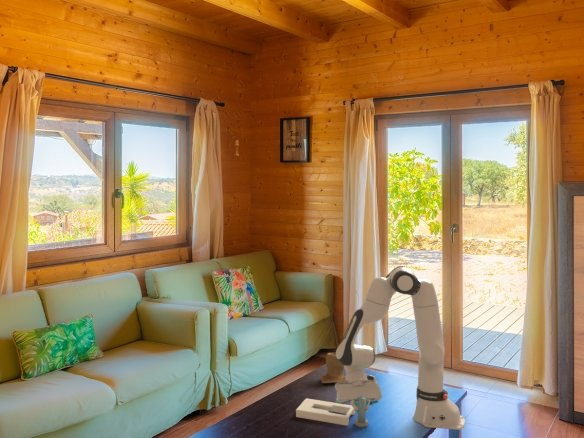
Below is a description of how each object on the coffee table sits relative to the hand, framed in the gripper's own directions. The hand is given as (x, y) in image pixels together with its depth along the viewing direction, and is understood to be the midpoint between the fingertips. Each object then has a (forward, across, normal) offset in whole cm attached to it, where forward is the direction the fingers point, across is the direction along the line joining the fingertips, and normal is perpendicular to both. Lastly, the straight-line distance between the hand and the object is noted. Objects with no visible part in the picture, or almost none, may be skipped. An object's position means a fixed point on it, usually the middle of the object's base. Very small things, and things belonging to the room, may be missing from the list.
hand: (362, 410), depth 244 cm
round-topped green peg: (+4, 0, +5) cm, 7 cm away
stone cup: (-33, 0, +43) cm, 54 cm away
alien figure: (-16, +7, +26) cm, 32 cm away
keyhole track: (-4, -13, +13) cm, 19 cm away
